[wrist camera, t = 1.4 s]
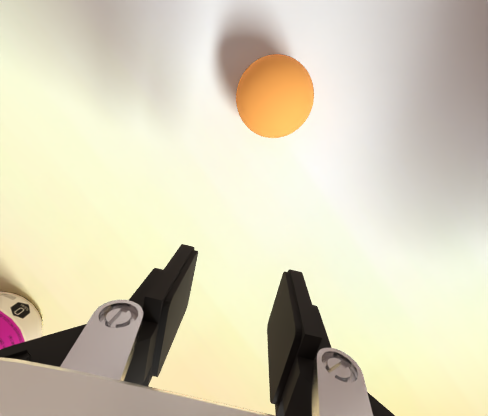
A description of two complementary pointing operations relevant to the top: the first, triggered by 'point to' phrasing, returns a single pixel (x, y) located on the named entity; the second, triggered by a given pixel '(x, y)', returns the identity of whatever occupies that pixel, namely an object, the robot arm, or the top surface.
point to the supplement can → (18, 320)
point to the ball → (274, 96)
